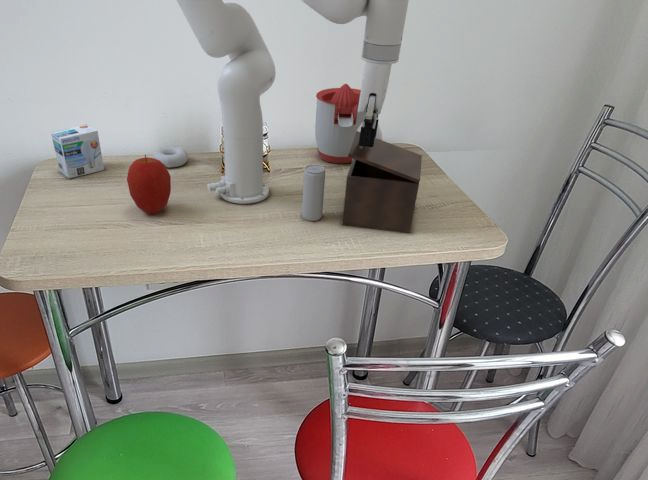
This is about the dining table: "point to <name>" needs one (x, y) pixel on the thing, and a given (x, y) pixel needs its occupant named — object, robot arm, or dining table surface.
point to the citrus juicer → (337, 122)
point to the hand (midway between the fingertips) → (367, 140)
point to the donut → (171, 156)
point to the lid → (388, 158)
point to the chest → (378, 199)
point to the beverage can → (313, 192)
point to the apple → (149, 184)
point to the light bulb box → (78, 151)
